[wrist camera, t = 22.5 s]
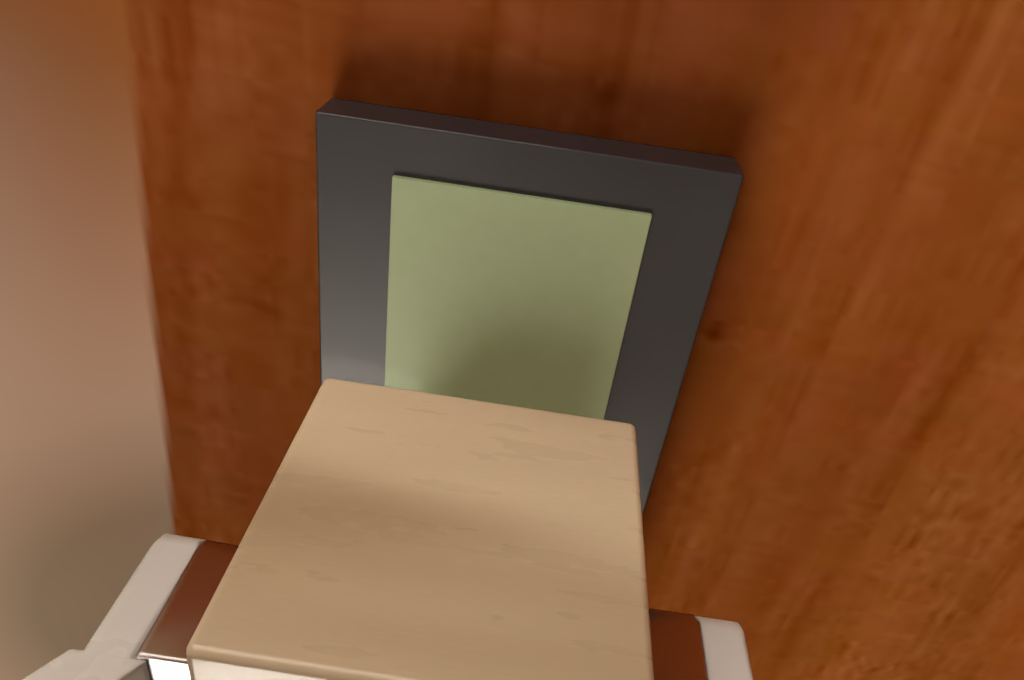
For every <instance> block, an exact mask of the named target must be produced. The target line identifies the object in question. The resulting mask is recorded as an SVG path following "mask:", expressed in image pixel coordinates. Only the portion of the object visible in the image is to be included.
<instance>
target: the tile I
mask: <svg viewBox="0 0 1024 680" xmlns="http://www.w3.org/2000/svg"><path fill="white" fill-rule="evenodd" d="M186 657H187V662H188V668H189V673H190V679H191V680H654V671H653V657H652V644H651V630H650V616H649V603H648V589H647V576H646V562H645V548H644V535H643V521H642V508H641V494H640V480H639V467H638V453H637V440H636V430H635V427H634V425H632V424H630V423H623V422H617V421H610V420H604V419H597V418H590V417H584V416H577V415H571V414H564V413H557V412H551V411H544V410H538V409H531V408H525V407H518V406H511V405H505V404H498V403H492V402H485V401H479V400H472V399H465V398H459V397H452V396H446V395H439V394H433V393H426V392H419V391H413V390H406V389H400V388H393V387H387V386H380V385H373V384H367V383H360V382H354V381H347V380H340V379H334V378H328V379H325V380H324V382H323V384H322V385H321V387H320V389H319V391H318V393H317V395H316V397H315V399H314V401H313V403H312V405H311V407H310V409H309V411H308V413H307V415H306V417H305V418H304V420H303V422H302V424H301V426H300V428H299V430H298V432H297V434H296V436H295V438H294V440H293V442H292V444H291V446H290V448H289V450H288V452H287V453H286V455H285V457H284V459H283V461H282V463H281V465H280V467H279V469H278V471H277V473H276V475H275V477H274V479H273V481H272V483H271V485H270V487H269V488H268V490H267V492H266V494H265V496H264V498H263V500H262V502H261V504H260V506H259V508H258V510H257V512H256V514H255V516H254V518H253V520H252V521H251V523H250V525H249V527H248V529H247V531H246V533H245V535H244V537H243V539H242V541H241V543H240V545H239V547H238V549H237V551H236V553H235V555H234V556H233V558H232V560H231V562H230V564H229V566H228V568H227V570H226V572H225V574H224V576H223V578H222V580H221V582H220V584H219V586H218V588H217V590H216V591H215V593H214V595H213V597H212V599H211V601H210V603H209V605H208V607H207V609H206V611H205V613H204V615H203V617H202V619H201V621H200V623H199V624H198V626H197V628H196V630H195V632H194V634H193V636H192V638H191V640H190V642H189V644H188V646H187V648H186Z"/></svg>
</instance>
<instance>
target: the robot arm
mask: <svg viewBox="0 0 1024 680" xmlns="http://www.w3.org/2000/svg"><path fill="white" fill-rule="evenodd" d="M238 547H239V546H237V545H231V544H226V543H220V542H215V541H209V540H203V539H197V538H191V537H185V536H179V535H173V534H167V533H165V534H164V535H163V536H162V537H160V538H159V539H158V540H157V541H156V542H154V543H153V544H152V546H151V547H150V549H149V550H148V552H147V554H146V555H145V556H144V558H143V560H142V561H141V563H140V564H139V566H138V567H137V569H136V570H135V572H134V573H133V575H132V577H131V578H130V580H129V581H128V583H127V584H126V586H125V587H124V589H123V590H122V592H121V594H120V595H119V597H118V598H117V600H116V601H115V603H114V605H113V606H112V608H111V609H110V611H109V612H108V614H107V615H106V617H105V618H104V620H103V621H102V623H101V624H100V626H99V628H98V629H97V631H96V632H95V634H94V636H93V637H92V638H91V640H90V641H89V643H88V645H87V646H86V648H85V650H76V649H70V650H68V651H66V652H65V653H63V654H62V655H60V656H59V657H57V658H55V659H54V660H52V661H51V662H49V663H47V664H46V665H44V666H43V667H41V668H40V669H38V670H36V671H35V672H33V673H31V674H30V675H28V676H27V677H25V678H24V679H22V680H191V679H190V673H189V668H188V662H187V657H186V648H187V646H188V644H189V642H190V640H191V638H192V636H193V634H194V632H195V630H196V628H197V626H198V624H199V623H200V621H201V619H202V617H203V615H204V613H205V611H206V609H207V607H208V605H209V603H210V601H211V599H212V597H213V595H214V593H215V591H216V590H217V588H218V586H219V584H220V582H221V580H222V578H223V576H224V574H225V572H226V570H227V568H228V566H229V564H230V562H231V560H232V558H233V556H234V555H235V553H236V551H237V549H238ZM649 616H650V630H651V644H652V657H653V671H654V680H753V675H752V670H751V665H750V660H749V655H748V650H747V645H746V640H745V635H744V631H743V629H742V628H741V626H740V625H739V623H737V622H732V621H725V620H719V619H712V618H706V617H699V616H696V617H695V616H694V615H692V614H685V613H678V612H671V611H664V610H657V609H650V608H649Z"/></svg>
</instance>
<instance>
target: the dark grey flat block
mask: <svg viewBox="0 0 1024 680" xmlns="http://www.w3.org/2000/svg"><path fill="white" fill-rule="evenodd" d="M316 152H317V208H318V263H319V318H320V373H321V385H322V384H323V382H324V380H325V379H328V378H334V379H340V380H347V381H354V382H360V383H367V384H373V385H380V386H387V387H393V388H400V389H406V390H413V391H419V392H426V393H433V394H439V395H446V396H452V397H459V398H465V399H472V400H479V401H485V402H492V403H498V404H505V405H511V406H518V407H525V408H531V409H538V410H544V411H551V412H557V413H564V414H571V415H577V416H584V417H590V418H597V419H604V420H610V421H617V422H623V423H630V424H632V425H634V427H635V430H636V440H637V453H638V467H639V480H640V494H641V508H642V516H643V513H644V509H645V506H646V503H647V499H648V496H649V493H650V489H651V486H652V483H653V479H654V476H655V473H656V469H657V466H658V463H659V459H660V456H661V452H662V449H663V446H664V442H665V439H666V436H667V432H668V429H669V426H670V422H671V419H672V416H673V412H674V409H675V406H676V402H677V399H678V396H679V392H680V389H681V386H682V382H683V379H684V375H685V372H686V369H687V365H688V362H689V359H690V355H691V352H692V349H693V345H694V342H695V339H696V335H697V332H698V329H699V325H700V322H701V319H702V315H703V312H704V309H705V305H706V302H707V298H708V295H709V292H710V288H711V285H712V282H713V278H714V275H715V272H716V268H717V265H718V262H719V258H720V255H721V252H722V248H723V245H724V242H725V238H726V235H727V232H728V228H729V225H730V221H731V218H732V215H733V211H734V208H735V205H736V201H737V198H738V195H739V191H740V188H741V185H742V181H743V178H744V175H743V173H742V171H741V169H740V166H739V164H738V162H737V160H736V159H735V158H732V157H725V156H718V155H712V154H705V153H698V152H692V151H685V150H678V149H671V148H665V147H658V146H651V145H644V144H638V143H631V142H624V141H617V140H611V139H604V138H597V137H590V136H584V135H577V134H570V133H563V132H557V131H550V130H543V129H536V128H530V127H523V126H516V125H509V124H503V123H496V122H489V121H483V120H476V119H469V118H462V117H456V116H449V115H442V114H435V113H429V112H422V111H415V110H408V109H402V108H395V107H388V106H381V105H375V104H368V103H361V102H354V101H348V100H341V99H334V98H332V99H330V100H329V101H328V102H326V103H325V104H324V105H323V106H322V107H321V108H320V109H319V110H318V111H317V112H316Z"/></svg>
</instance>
